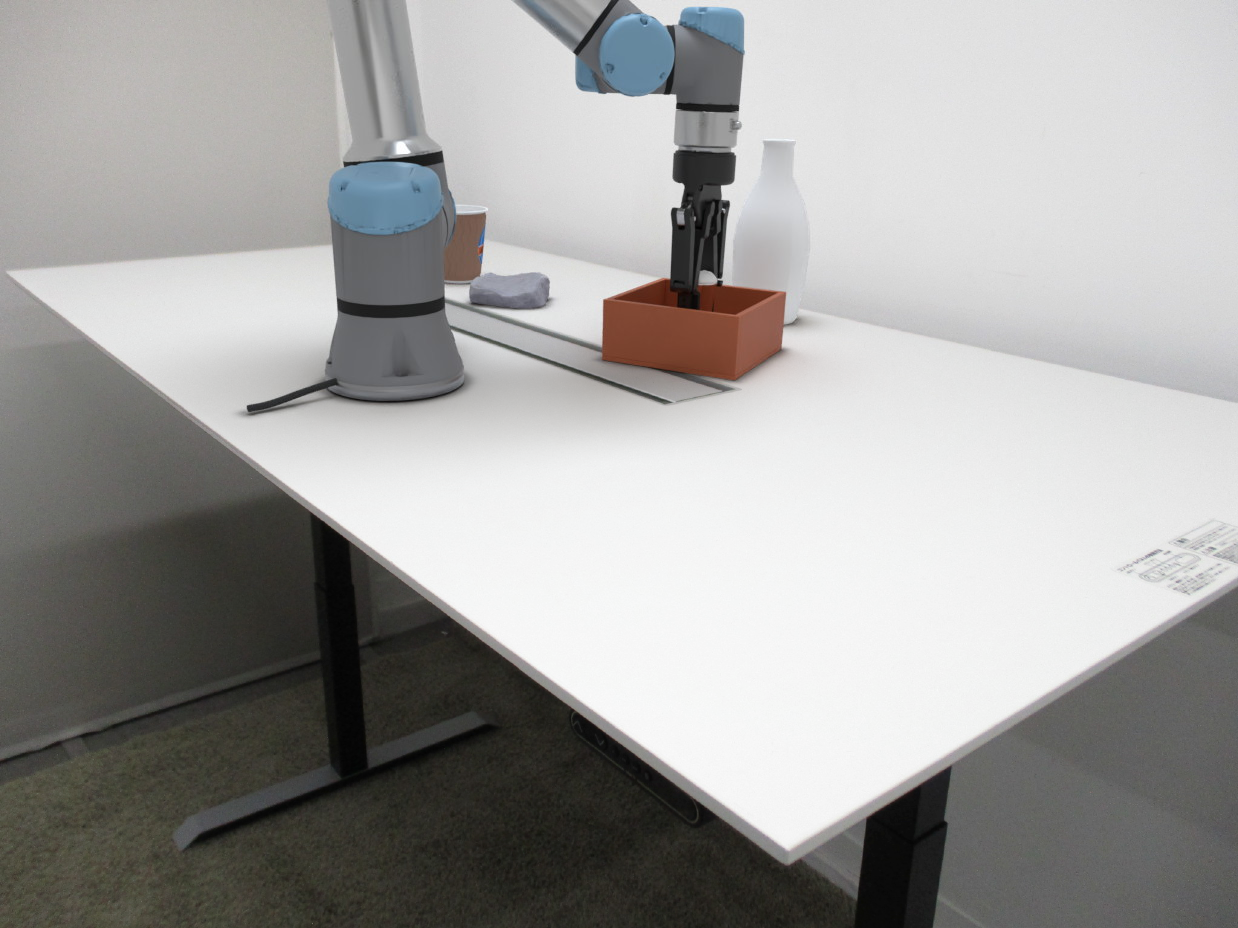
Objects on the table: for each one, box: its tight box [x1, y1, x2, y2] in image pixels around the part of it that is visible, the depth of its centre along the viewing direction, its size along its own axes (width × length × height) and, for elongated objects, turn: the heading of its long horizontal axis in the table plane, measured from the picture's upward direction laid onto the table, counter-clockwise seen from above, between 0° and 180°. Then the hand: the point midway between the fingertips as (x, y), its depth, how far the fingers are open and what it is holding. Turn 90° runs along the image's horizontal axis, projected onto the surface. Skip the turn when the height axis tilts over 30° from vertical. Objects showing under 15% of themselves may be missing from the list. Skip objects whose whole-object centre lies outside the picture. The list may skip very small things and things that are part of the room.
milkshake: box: [697, 270, 717, 312], centre depth 127 cm, size 5×5×10 cm
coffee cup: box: [443, 204, 489, 285], centre depth 170 cm, size 10×10×12 cm
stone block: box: [468, 271, 551, 310], centre depth 156 cm, size 12×5×10 cm
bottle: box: [731, 138, 811, 326], centre depth 145 cm, size 11×11×25 cm
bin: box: [601, 277, 786, 381], centre depth 128 cm, size 18×18×8 cm
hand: (693, 340), depth 129 cm, fingers closed on milkshake, 4 cm apart
